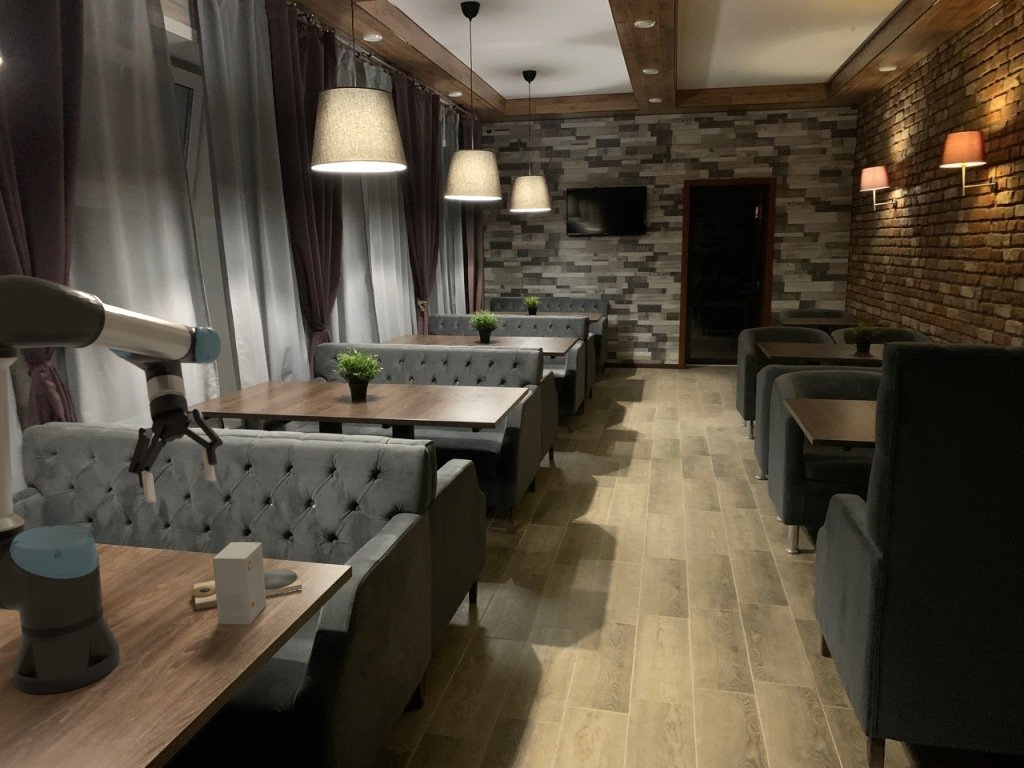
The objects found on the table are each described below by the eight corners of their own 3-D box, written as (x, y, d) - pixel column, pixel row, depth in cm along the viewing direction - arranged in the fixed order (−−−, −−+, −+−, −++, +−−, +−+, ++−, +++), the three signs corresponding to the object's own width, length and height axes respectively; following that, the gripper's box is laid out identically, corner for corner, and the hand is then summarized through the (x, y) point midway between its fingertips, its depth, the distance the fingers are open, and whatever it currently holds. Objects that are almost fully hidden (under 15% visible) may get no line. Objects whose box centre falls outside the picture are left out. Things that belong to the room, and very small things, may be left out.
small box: (235, 604, 149) (230, 541, 146) (267, 605, 148) (262, 541, 146) (217, 624, 141) (211, 558, 138) (250, 625, 140) (245, 558, 138)
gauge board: (302, 590, 155) (301, 582, 154) (193, 610, 146) (192, 602, 146) (294, 571, 164) (293, 564, 163) (191, 589, 155) (190, 582, 155)
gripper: (229, 387, 169) (245, 475, 162) (125, 423, 170) (136, 513, 163) (211, 375, 162) (227, 467, 155) (104, 413, 163) (114, 506, 156)
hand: (180, 491), depth 159 cm, fingers open, 13 cm apart
